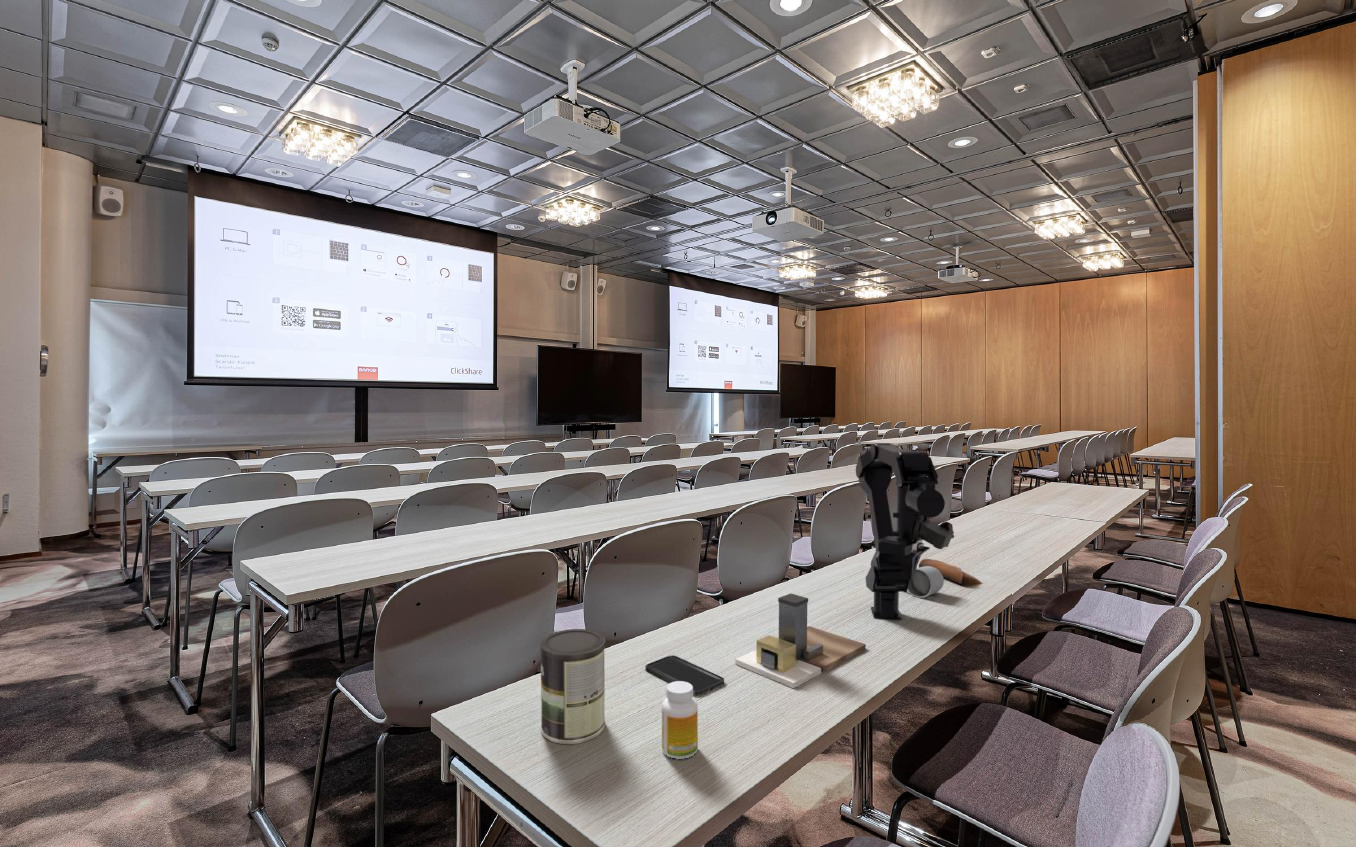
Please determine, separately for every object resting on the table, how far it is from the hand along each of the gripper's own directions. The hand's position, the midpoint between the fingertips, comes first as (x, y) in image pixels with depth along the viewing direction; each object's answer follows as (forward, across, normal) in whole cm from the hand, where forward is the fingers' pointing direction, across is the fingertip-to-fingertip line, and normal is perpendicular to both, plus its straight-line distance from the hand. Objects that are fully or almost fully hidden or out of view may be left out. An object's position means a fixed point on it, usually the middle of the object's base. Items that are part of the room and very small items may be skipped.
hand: (909, 579), depth 135 cm
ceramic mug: (+13, +31, +12) cm, 36 cm away
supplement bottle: (+13, -66, +4) cm, 68 cm away
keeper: (+13, -34, +10) cm, 38 cm away
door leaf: (+13, -20, +10) cm, 26 cm away
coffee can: (+13, -74, +20) cm, 78 cm away
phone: (+14, -49, +21) cm, 55 cm away
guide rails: (+13, -25, +10) cm, 30 cm away
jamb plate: (+13, -33, +10) cm, 37 cm away
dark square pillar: (+12, -31, +10) cm, 35 cm away
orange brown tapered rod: (+14, +53, +13) cm, 56 cm away
